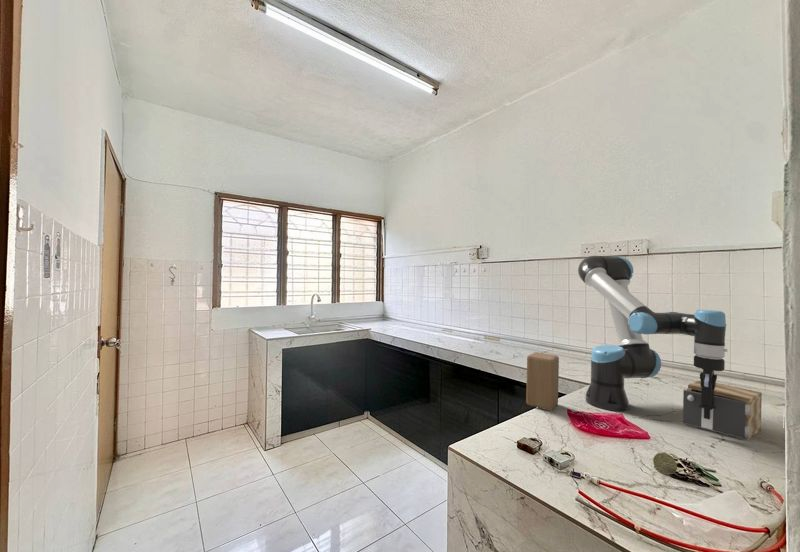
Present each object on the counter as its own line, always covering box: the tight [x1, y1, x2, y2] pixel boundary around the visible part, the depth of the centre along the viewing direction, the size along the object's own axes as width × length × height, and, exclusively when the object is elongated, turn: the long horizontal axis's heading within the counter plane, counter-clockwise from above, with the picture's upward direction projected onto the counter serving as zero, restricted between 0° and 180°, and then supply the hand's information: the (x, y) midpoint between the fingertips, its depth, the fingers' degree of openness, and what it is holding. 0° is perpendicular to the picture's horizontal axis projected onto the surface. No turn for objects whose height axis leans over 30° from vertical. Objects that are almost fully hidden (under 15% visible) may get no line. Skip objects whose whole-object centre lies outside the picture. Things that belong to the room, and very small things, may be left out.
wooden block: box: [525, 351, 560, 411], centre depth 134 cm, size 10×10×20 cm
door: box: [682, 389, 750, 440], centre depth 112 cm, size 3×16×12 cm, turn 43°
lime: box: [652, 452, 678, 476], centre depth 88 cm, size 4×5×5 cm
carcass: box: [686, 379, 763, 440], centre depth 118 cm, size 14×16×13 cm
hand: (706, 427), depth 110 cm, fingers closed
